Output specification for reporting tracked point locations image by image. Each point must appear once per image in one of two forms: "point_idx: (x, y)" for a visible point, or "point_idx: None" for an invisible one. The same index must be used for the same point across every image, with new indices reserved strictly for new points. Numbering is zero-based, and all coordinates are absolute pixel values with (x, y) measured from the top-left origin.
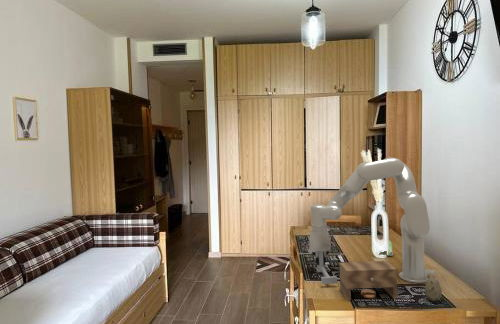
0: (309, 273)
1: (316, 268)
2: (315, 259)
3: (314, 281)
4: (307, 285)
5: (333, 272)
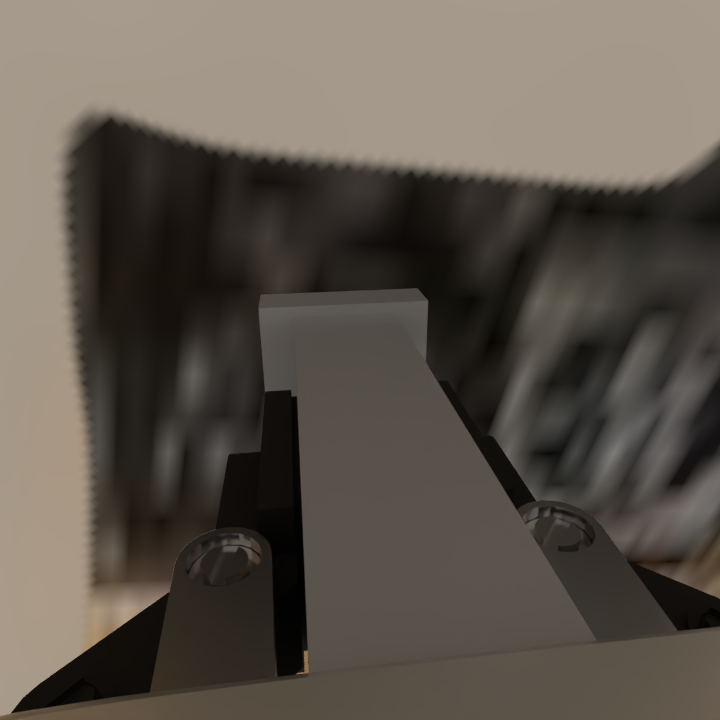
0: (122, 344)
1: (261, 326)
2: (222, 501)
3: None
4: None
5: (549, 317)
